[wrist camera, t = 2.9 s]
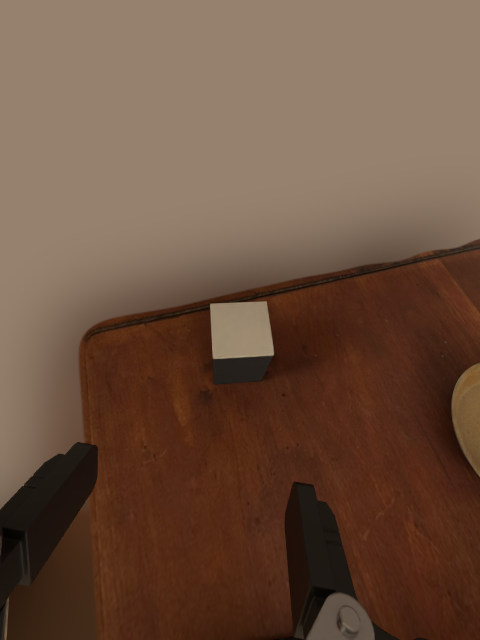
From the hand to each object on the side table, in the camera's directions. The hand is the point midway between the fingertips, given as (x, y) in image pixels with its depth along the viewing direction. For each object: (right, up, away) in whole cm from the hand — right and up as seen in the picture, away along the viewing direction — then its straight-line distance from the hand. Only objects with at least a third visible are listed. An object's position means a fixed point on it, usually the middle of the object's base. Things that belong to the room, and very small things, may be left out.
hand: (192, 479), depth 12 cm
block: (+1, +2, +20) cm, 20 cm away
